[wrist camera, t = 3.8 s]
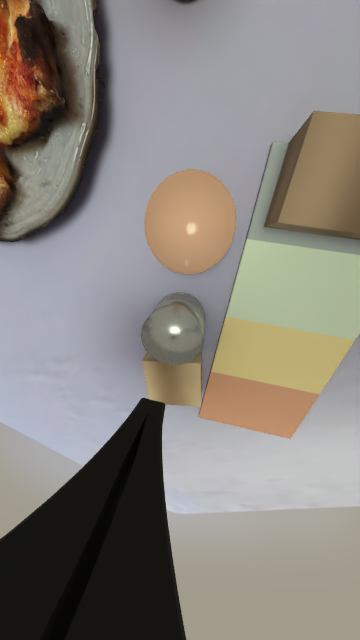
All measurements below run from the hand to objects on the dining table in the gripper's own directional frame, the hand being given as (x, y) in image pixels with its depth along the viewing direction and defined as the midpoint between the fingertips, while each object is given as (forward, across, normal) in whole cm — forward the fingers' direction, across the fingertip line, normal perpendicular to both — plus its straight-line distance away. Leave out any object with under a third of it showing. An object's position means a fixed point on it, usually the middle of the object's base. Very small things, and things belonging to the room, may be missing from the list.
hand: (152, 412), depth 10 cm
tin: (+10, 0, -2) cm, 10 cm away
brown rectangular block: (+10, -10, -14) cm, 20 cm away
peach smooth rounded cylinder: (+10, 0, -10) cm, 14 cm away
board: (+10, -10, -3) cm, 15 cm away
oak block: (+10, 0, +5) cm, 11 cm away
